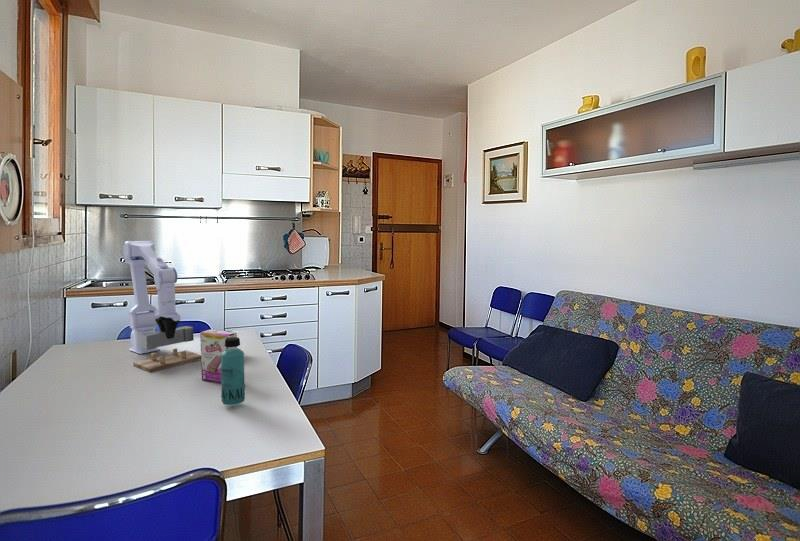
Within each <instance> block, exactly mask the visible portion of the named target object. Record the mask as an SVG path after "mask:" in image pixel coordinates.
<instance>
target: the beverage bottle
mask: <svg viewBox="0 0 800 541" xmlns="http://www.w3.org/2000/svg"><path fill="white" fill-rule="evenodd" d="M239 346H241V341H240V337H238V336H237V337H230V338H226V339H225V347H237V348H229V349H226V350H224V351H223V352H222V353H221V383H220V385H221V394H220V395H221V396H220V399H221V400H220V401H221V403H222V404H223V405H226V406H235V405H239V404H242V403H243V402H244V401H245V399H246V388H245V387H246V385H245V352H244V351H243V350H242V349H241V348H238V347H239Z"/></svg>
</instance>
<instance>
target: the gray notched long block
mask: <svg viewBox="0 0 800 541" xmlns="http://www.w3.org/2000/svg"><path fill="white" fill-rule="evenodd" d="M140 339H141V348H143V349H145V350H150V349H154V348H160V347H161V348H162V347H166V346H171V345H176V344H181V343H187V342H192V341H194V339H195V338H194V327H193V326H188V325H185V326H183V325H182V326H179V327H176V330H175V335H174V338H170V339H168V338H167V335H166V330H164V331H160V330H159V331H155V332H152V333H144V334H140Z"/></svg>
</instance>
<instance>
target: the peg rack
mask: <svg viewBox="0 0 800 541" xmlns="http://www.w3.org/2000/svg"><path fill="white" fill-rule="evenodd" d="M150 355H151V357H150V358H145V359H141V360H138V361H134V362H132V363H133V367H135V368H139V369H141V370H144V371H146V372H147V373H152V372H156V371H160V370H164V369H169V368H173V367H176V365H177V366H180V364H181V365H184V363H185V364H187V363H188V362H189V363H192V362H191V361H193V362H196V361H195V360H197V361H199V359H201V354H199V353H196V352H193V351H190V350H182V351H178V348H176V347H175V348H172V353H169V354H164V355H159V356H157V352H153V353H152V352H151V354H150ZM172 366H173V367H172Z"/></svg>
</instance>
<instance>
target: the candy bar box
mask: <svg viewBox="0 0 800 541" xmlns="http://www.w3.org/2000/svg"><path fill="white" fill-rule="evenodd" d="M227 331H228V330H219V329H218V330H217V329H206V330H203V331H201V332H199V333H200V355H201V360H200V362H201V367H200V368H201V380H202V381H207V382H213V383H219V384H221V353H222V352H223V351H224V350H226V349H229V348H238V346H237V347H225V339H226V338H230V337H238V333H237V332H234V331H232V332H227Z"/></svg>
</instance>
